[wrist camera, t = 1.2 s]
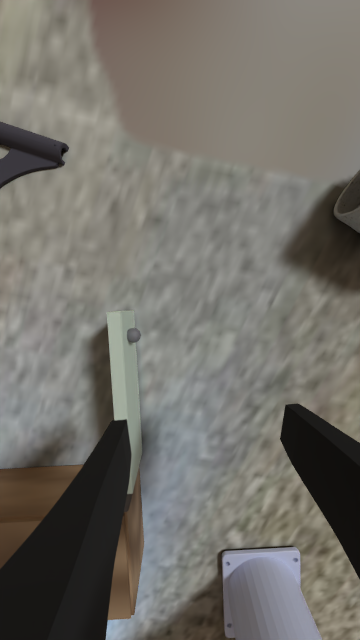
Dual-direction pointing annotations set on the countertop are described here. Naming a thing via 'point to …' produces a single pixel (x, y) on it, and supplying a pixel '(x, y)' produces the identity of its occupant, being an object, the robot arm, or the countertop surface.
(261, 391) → the countertop surface
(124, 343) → the door
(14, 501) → the cabinet
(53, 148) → the bracket
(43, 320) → the countertop surface
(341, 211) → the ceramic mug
